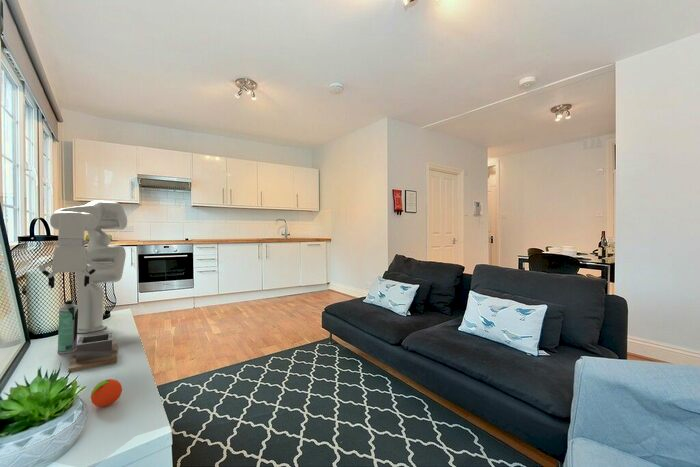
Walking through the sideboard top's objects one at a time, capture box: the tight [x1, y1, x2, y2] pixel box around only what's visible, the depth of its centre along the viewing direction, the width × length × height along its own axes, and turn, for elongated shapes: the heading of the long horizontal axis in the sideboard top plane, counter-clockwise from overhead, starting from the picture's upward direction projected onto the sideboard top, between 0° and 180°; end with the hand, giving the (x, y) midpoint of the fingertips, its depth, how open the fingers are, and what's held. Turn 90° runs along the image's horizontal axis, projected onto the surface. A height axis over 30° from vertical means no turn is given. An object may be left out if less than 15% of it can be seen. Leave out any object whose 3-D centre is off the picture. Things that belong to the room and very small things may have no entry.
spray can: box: [57, 299, 78, 355], centre depth 119 cm, size 6×6×20 cm
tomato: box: [90, 378, 123, 408], centre depth 84 cm, size 8×7×7 cm
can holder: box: [67, 332, 118, 373], centre depth 115 cm, size 20×13×7 cm, turn 37°
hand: (69, 286), depth 119 cm, fingers open, 9 cm apart
